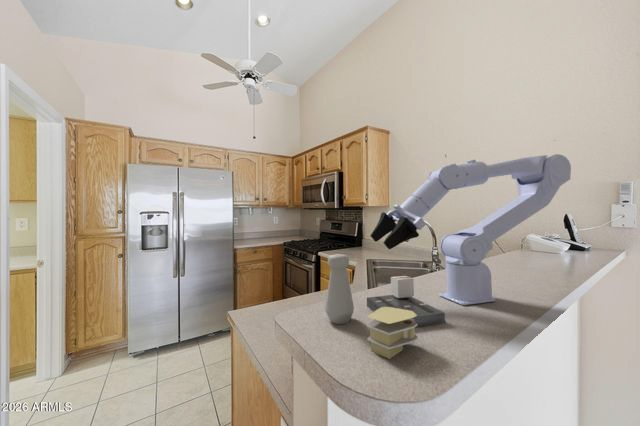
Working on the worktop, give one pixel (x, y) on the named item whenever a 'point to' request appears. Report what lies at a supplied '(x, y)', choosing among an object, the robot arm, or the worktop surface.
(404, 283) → the white striped block
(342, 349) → the worktop surface
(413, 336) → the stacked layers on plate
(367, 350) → the worktop surface
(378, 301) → the console
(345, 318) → the salt shaker
